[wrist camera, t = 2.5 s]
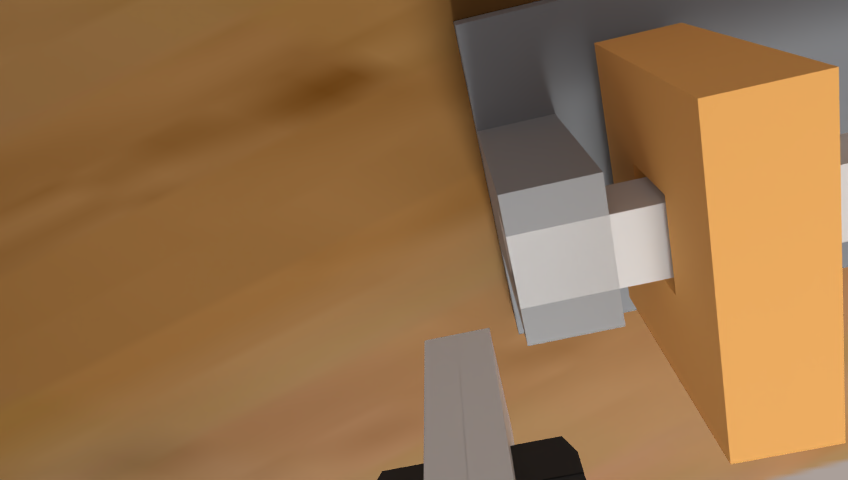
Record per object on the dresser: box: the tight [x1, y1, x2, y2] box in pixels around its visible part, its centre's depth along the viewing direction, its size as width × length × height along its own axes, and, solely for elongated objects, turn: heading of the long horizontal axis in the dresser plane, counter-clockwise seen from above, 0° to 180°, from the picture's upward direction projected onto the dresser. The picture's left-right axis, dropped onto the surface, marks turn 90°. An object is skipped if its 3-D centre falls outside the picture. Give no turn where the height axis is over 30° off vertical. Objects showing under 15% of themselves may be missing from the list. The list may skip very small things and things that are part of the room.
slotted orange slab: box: [594, 23, 845, 464], centre depth 22 cm, size 3×10×10 cm, turn 13°
